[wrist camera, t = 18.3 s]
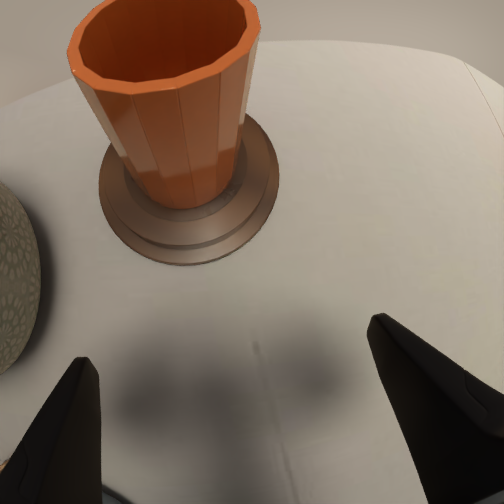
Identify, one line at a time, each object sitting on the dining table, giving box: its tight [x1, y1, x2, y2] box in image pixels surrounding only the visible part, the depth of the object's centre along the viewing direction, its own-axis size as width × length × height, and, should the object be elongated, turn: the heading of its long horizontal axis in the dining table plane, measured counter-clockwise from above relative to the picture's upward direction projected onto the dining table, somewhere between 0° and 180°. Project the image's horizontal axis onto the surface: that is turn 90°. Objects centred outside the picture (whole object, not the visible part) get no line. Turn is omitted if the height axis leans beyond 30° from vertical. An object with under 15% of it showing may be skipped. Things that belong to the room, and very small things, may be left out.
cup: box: [67, 0, 261, 209], centre depth 15 cm, size 7×7×12 cm
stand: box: [99, 113, 279, 266], centre depth 22 cm, size 14×14×3 cm
